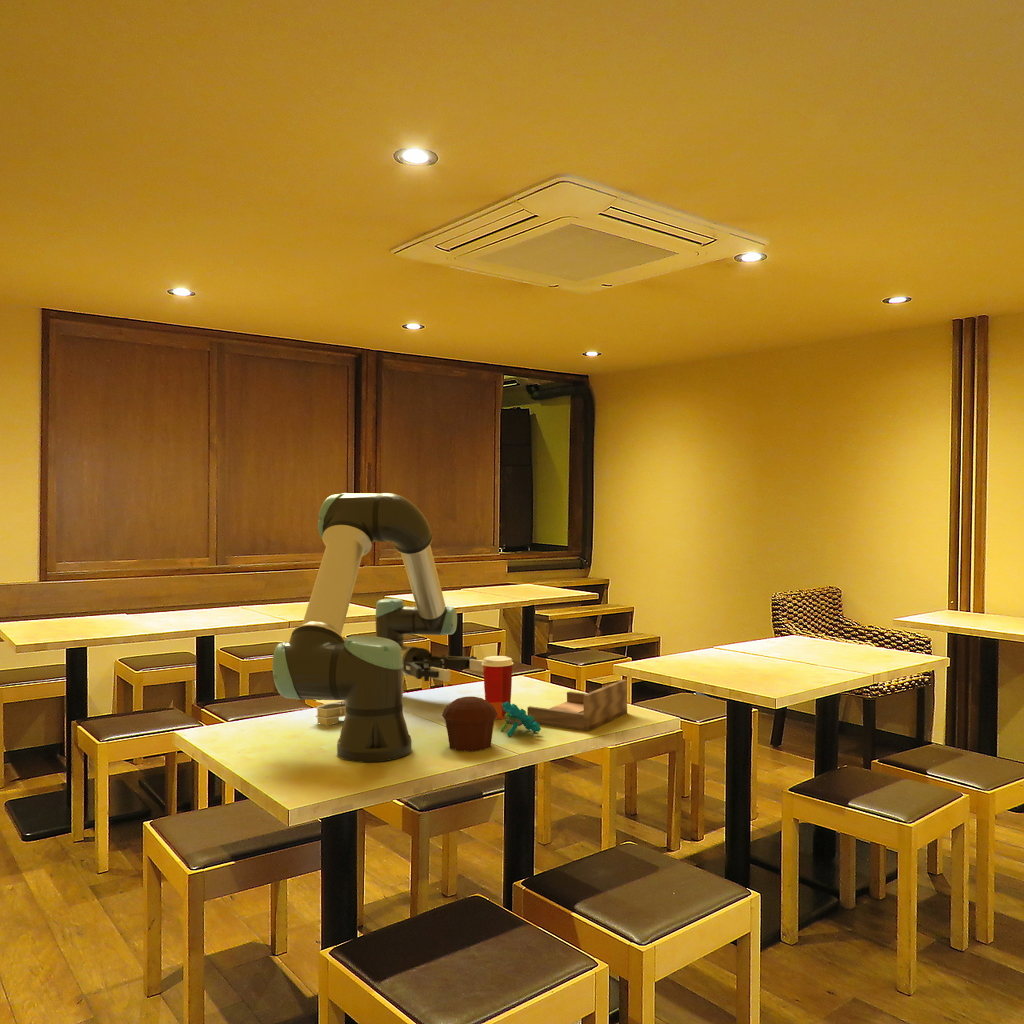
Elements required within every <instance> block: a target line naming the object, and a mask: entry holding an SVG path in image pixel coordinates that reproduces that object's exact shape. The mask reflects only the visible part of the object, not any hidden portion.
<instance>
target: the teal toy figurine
mask: <svg viewBox="0 0 1024 1024" xmlns="http://www.w3.org/2000/svg"><path fill="white" fill-rule="evenodd" d="M502 706H503V708H504V709H503V710H504V711H505V712H507V713H506V714H505V717H506V719H504V724H503V725H502V727H501V728H500V731H501V732H502V733H503V732H504V731H505V729H506V728H507V727H508V725H509V726H511V727H510V728H509V730H508V731H507V732H506V735H507V736H508V737H512V735H513V734H514V732H515V731H516V729H517V728H518V727H520V726H524V728H525V729H526V730H528V731H532V732H533V733H535V734H536V733H540V732H541V730H542V729H541V727H540V726H541V724H539V723H538V722H533V720H534V718H533V717H532V716H531V715H529V717H528V714H527V711H526V710H525V709H523V708H519V707H518V705H517V704H516V703H511V704H510V703H509V702H508V701H507V702H506V703H505V702H504V703H503V704H502Z"/></svg>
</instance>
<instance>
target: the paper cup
mask: <svg viewBox="0 0 1024 1024" xmlns="http://www.w3.org/2000/svg"><path fill="white" fill-rule="evenodd" d="M482 661H483V662H482V664H481V665H483V672H482V673H483V687H484V700H486V701H487V702H489V703H490V704H491V705H492V706H493V707H494V708H495V710H496V712H497V716H496V718H495V719H494V720H505V719H506V717H505V714H506V713H507V712H505V711H504V710H503V709H504V708H503V706H502V704H503V703H504V702H505V703H506V702H507V701H508V702H509V703H510V704H511V705H512V703H511V699H512V698H511V697H512V688H513V687H512V686H513V685H512V682H513V681H512V678H513V677H512V676H513V665H514V662H513V658H512V657H509V656H505V655H492V656H491V655H490V656H486V657H484V658H483V660H482Z"/></svg>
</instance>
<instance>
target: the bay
mask: <svg viewBox="0 0 1024 1024" xmlns="http://www.w3.org/2000/svg"><path fill="white" fill-rule="evenodd" d="M626 714H628V680H627V679H620V680H618V681H615V682H613V683H610V684H608V685H606V686H602V687H600V688H598V689H595V690H593V691H590V692H587V693H585V692H576V691H567V692H566V701H565V702H562V703H560V704H557V705H555V706H552V707H549V708H547V707H546V708H545V707H538V706H533V705H532V706H531V705H529V706H527V711H526V715H527V716H528V717H529V715H531V716H532V717H533V718H534V720H533V722H538V723H539V725H543V726H550V727H558V728H563V729H570V730H571V729H572V730H576V731H577V730H578V731H583V732H590V731H592V730H595V729H597V728H599V727H601V726H603V725H605V724H608V723H609V722H611V721H614V720H616V719H618V718H620V717H622V716H624V715H626ZM615 718H616V719H615Z"/></svg>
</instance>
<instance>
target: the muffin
mask: <svg viewBox="0 0 1024 1024" xmlns="http://www.w3.org/2000/svg"><path fill="white" fill-rule="evenodd" d="M496 716H497V712H496V710H495V708H494V707H493V706H492V705H491V704H490V703H489V702H487V701H486V700H485V698H482V697H478V696H462V697H458V698H456V699H455V700H453V701H451V702H449V704H448V705H446V707H444V710H443V712H442V713H441V717H442V718H443V719H444V720H445V725H446V731H447V738H448V743H449V744H448V745H449V749H452V750H455V751H458V752H468V753H472V752H478V751H485V750H487V749H489V748H491V747H492V741H493V740H492V739H493V730H494V723H495V720H496V719H495V718H496Z"/></svg>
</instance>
